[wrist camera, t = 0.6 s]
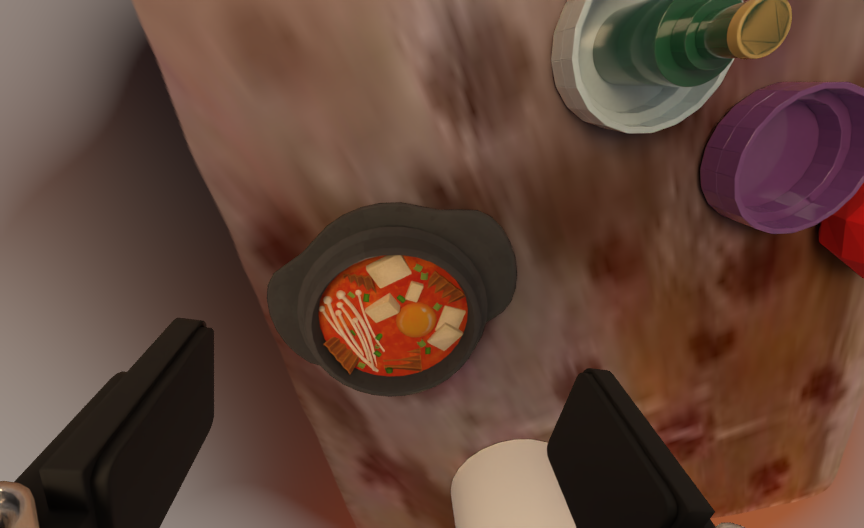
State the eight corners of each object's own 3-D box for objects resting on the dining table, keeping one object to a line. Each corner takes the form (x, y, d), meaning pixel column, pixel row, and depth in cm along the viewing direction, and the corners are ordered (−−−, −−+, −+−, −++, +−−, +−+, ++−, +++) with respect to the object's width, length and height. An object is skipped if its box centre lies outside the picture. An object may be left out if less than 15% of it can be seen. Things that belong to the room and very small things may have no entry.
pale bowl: (590, -73, 31) (624, -99, 27) (726, -10, 34) (778, -24, 29) (525, 101, 36) (545, 104, 31) (649, 144, 39) (684, 153, 34)
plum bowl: (746, 61, 36) (797, 58, 32) (854, 107, 39) (915, 110, 34) (671, 198, 41) (706, 213, 37) (772, 231, 44) (816, 248, 39)
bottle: (612, -6, 33) (753, -62, 20) (674, 20, 34) (844, -16, 21) (580, 72, 35) (688, 67, 22) (639, 95, 36) (774, 102, 23)
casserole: (316, 384, 47) (301, 444, 39) (238, 240, 39) (200, 279, 31) (526, 322, 46) (553, 370, 38) (489, 161, 38) (514, 181, 30)
